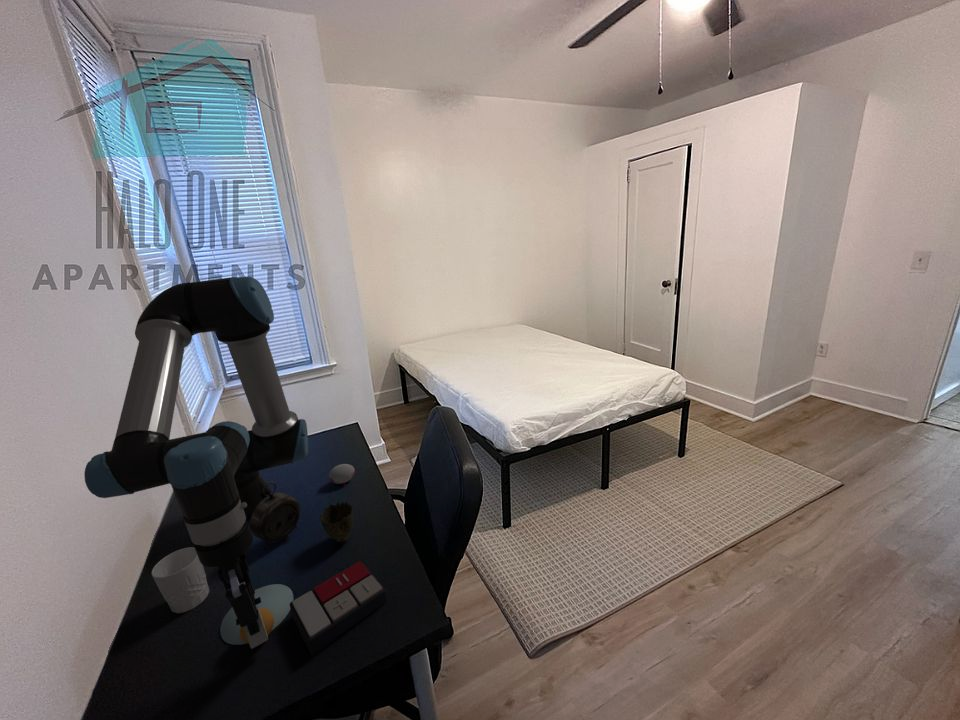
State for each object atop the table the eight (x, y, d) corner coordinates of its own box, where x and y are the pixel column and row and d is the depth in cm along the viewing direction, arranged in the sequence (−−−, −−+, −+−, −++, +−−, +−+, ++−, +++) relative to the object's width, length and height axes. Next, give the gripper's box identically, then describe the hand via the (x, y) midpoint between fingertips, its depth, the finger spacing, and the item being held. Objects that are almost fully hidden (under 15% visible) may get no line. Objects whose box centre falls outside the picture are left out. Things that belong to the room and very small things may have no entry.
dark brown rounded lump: (348, 551, 91) (341, 523, 89) (320, 548, 93) (313, 521, 91) (363, 528, 98) (357, 502, 96) (337, 526, 100) (330, 500, 98)
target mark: (213, 615, 78) (213, 614, 78) (281, 574, 87) (280, 574, 86) (229, 659, 69) (229, 659, 69) (303, 609, 77) (302, 608, 77)
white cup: (177, 622, 77) (160, 583, 74) (161, 606, 82) (144, 568, 79) (219, 592, 84) (205, 554, 81) (202, 578, 88) (188, 542, 85)
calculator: (386, 586, 77) (307, 638, 67) (388, 604, 78) (312, 657, 68) (361, 557, 85) (287, 599, 75) (363, 573, 86) (292, 617, 76)
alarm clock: (296, 522, 103) (281, 469, 99) (309, 527, 101) (294, 473, 96) (256, 550, 95) (238, 494, 90) (269, 558, 92) (251, 499, 87)
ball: (243, 649, 72) (235, 618, 73) (275, 630, 75) (267, 601, 76) (245, 653, 68) (236, 619, 69) (279, 633, 71) (271, 602, 72)
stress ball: (356, 483, 124) (351, 463, 125) (358, 481, 117) (353, 459, 119) (331, 491, 120) (326, 470, 122) (332, 489, 114) (327, 467, 115)
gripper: (250, 541, 59) (287, 656, 66) (244, 502, 70) (277, 604, 76) (191, 567, 56) (237, 686, 62) (194, 521, 66) (233, 627, 73)
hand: (259, 641), depth 69 cm, fingers closed
